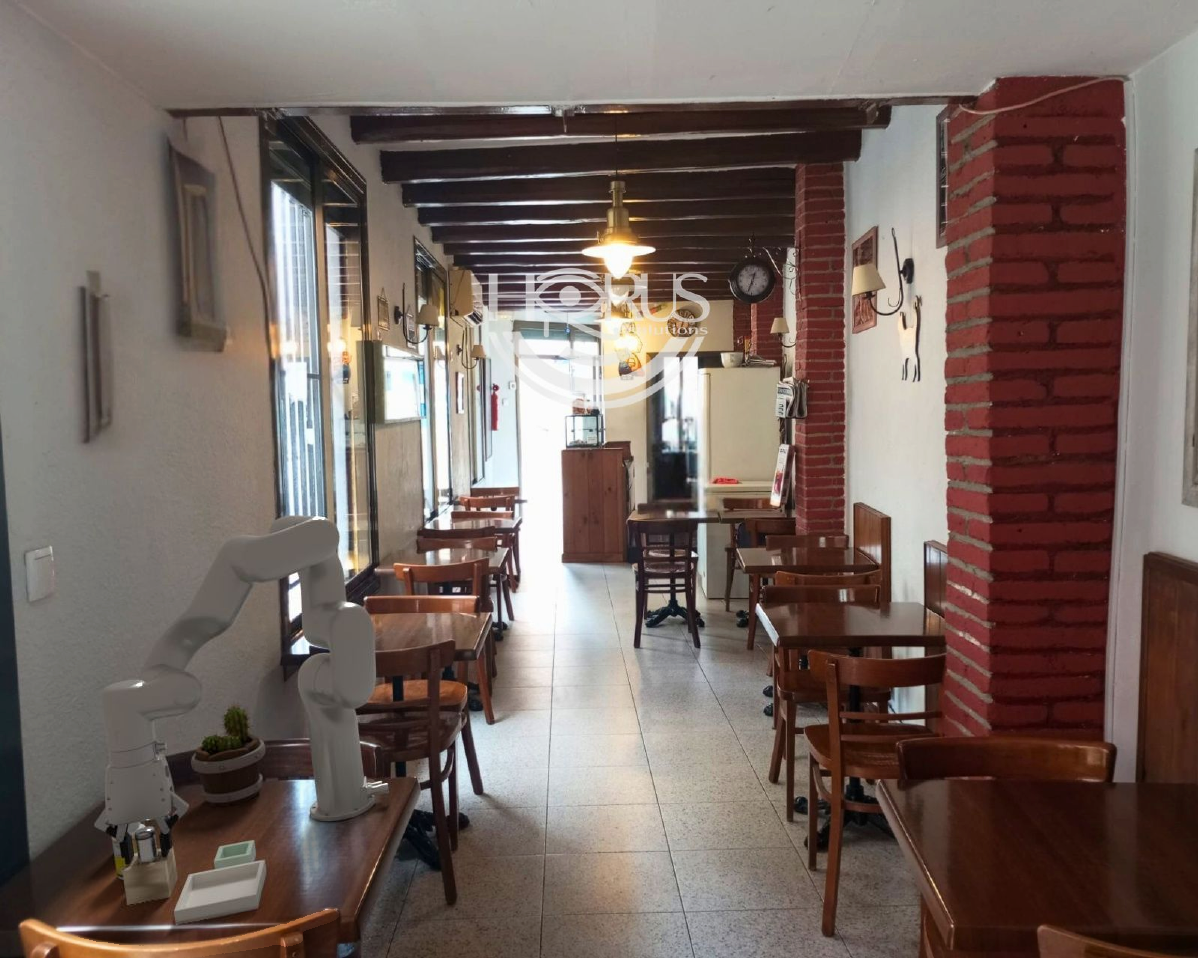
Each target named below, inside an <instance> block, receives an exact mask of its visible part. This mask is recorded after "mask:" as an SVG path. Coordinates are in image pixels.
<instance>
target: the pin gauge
mask: <svg viewBox="0 0 1198 958" xmlns="http://www.w3.org/2000/svg"><path fill="white" fill-rule="evenodd" d="M156 839H157V838H156V829H155V827H154V826H151V825H150V826H146V827H144V828H141V829H139V830H137V831H136V832H135V840H136V846H137V853H138V860H139V865H144V864H149V863H154V862H159V859H158V852H157V849H158V846H157V840H156Z"/></svg>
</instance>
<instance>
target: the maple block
mask: <svg viewBox="0 0 1198 958" xmlns="http://www.w3.org/2000/svg"><path fill="white" fill-rule="evenodd" d="M157 852H158V859H159V862H154V863H149V864H144V865H139V860H138V853H134V857H133V859H132V861H131V863H129V864H126V866H125V868H124V870H123V879H124V880H123V883H124V891H125V898H126V905H129V904H134V903H139V904H143V903H142V902H144V901H149V902H151V901H150V900H154V901H158V899H159V900H164V899H168V898H171V896H172V893H173V891H174V888H175V886H176V884H177V881H178V879H179V878H178V871H177V863H176V857H175V851H174V846H173V847H172V849H170V851H169V853H168V855H167V857H162V854H161V848H157ZM144 903H145V902H144ZM134 905H135V904H134ZM129 906H130V905H129Z"/></svg>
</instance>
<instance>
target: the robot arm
mask: <svg viewBox="0 0 1198 958" xmlns="http://www.w3.org/2000/svg"><path fill="white" fill-rule="evenodd" d="M340 538H341V537H340V532H339V529H338V527H337V525H336V524H335V523H334V522H333V521H331V520H330V519H329V518H327V517H323V516H318V515H285V516H282V517H279V518H277V519H276V520H274V521H273V522H272V523H271V525H270V527H269V529H268V534H264V535H248V534H247V535H245V534H243V535H235V536H233V537H231V538H229V539H228V540H226V541H225V542H224V543H223V544H222V546H221V547H220V549H219V551H218V553H216V556H215V558H214V560H213V562H212V563H211V565H210V567H209V569H208V571H207V573H206V575H205V576H204V578H203V580H202V582H201V583H200V585H199V588H198V590H196V592H195V595H194V596H193V598H192V600H191V602H190V603H189V605H188V606H187V608H186V609H185V610H183V612H182V613H181V614H179V616H178V617H177V618H176V619H175V620H174V621H173V623H172V624H170V626H169V627H168V628H167V629H166V630H165V631H164V632H163V633H162V634H161V635H160V637H159V638H158V639H157V640H156V642H155V643H154V645H153V646H152V648H151V650H150V652H149V654H148V655H147V658H146V659H145V661H144V663H143V665H142V667H141V668H140V670H139V673H138V675H137V678H136V679H129V680H128V679H127V680H122V681H118V682H114V683H111V684H110V685H107V686H106V687H105V688H103V689H102V690H101V693H100V697H99V699H100V706H101V707H100V708H101V713H102V714H101V715H102V720H103V728H104V729H103V730H104V736H105V741H106V742H105V743H106V749H107V757H108V763H109V764H108V765H107V766H106V768H105V778H104V779H105V780H104V799H105V803H104V804H105V807H104V808H103V811H102V812H101V813H100V815H99V816H98V818H97V819H96V821H95V822H94V827H95V828H96V829H98V830H101V831H102V832H105V833H106V834H107V835H109V836H110V837H111V838H112V837H113V838H115V839H116V841H117V842H119V844H120V851H121V857H122V858H125V864H129V863H131V861H132V859H133V857H134V849H133V841H132V835H130V834H129V833H128V828H129V824H131V823H136V822H142V821H144V822H146V821H152V820H155V822H156V823H157V825H158V827H159V829H160V833H159V836H158V838H159V845H160V846H159V847H160V849H161V854H162V857H167V855H168V853H169V851H170V849H172V847H173V848H174V844H173V836H172V828H173V827H174V826H175V825H176V823H177V822H178V821H179V820H180V818H182V817H183V816H184V815H185V813H186V812H187V811H188V810H189V808H190V804H189V803H187V802H186V801H185V800H184V799H183V798H181V797H180V796H179V795H178V794H176V792H175V787H174V782H173V778H172V775H171V770H170V767H169V764H168V761H167V759H166V755H165V754H164V753H161V752H164V751H167V749H168V743H167V742H166V741H164V742H161V741H159V738H157V731H156V724H155V720H159V719H163V718H170V717H177V716H182V715H185V714H187V713H190V712H191V711H193V710H194V709H195V708H196V707H198V706H199V704H200V703H201V701H202V700H203V697H204V692H205V691H204V686H203V683H202V681H201V680H200V678H198V676H197V675H195V674H193V673H191V672H189V671H186V670H187V668H188V666H189V664H190V663H191V661H192V659H193V657H194V656H195V655H196V654H197V653H198V652H199V650H201V649H202V648H203V647H204V645H206V644H207V643H208V642H209V641H212V640H213V639H214V638H217V637H219V636H221V635H223V634H224V633H226V632H227V631H229V630H230V629H232V628H233V627H234V626H235V624H237V623H236V622H237V621H238V620H239V619H238V618H239V617H240V615H241V613H242V612H243V608H244V607H245V605H246V604H247V600H248V599H249V597H250V596H251V594H252V592H253V590H254V588H255V586H256V584H257V583H258V584H267V583H271V582H276V581H279V580H281V579H284V578H286V577H289V576H291V575H294V574H297V576H298V578H299V586H300V601H301V602H300V603H301V627H302V635H303V638H304V639H305V640H306V641H307V643H309V644H310V645H312V646H314V647H318V648H320V649H321V648H322V649H326V650H329V652H322V653H321V652H320V653H316V654H313V655H311V656H310V657H308V658H306V659H305V661H303V663H302V664H301V667H300V668H299V670H298V674H297V687H298V692H299V696H300V699H301V702H302V705H303V709H304V712H305V719H306V724H307V731H308V739H309V740H308V741H309V747H310V755H311V764H312V772H313V778H314V789H315V794H316V795H315V796H316V800H315V801H314V802H313V803H312V804H311V806H310V808H309V813H310V817H311V818H312V819H315V820H317V821H321V822H337V821H343V820H348V819H350V818H354V817H357V816H360V815H361V814H363V813H365V812H367V811H368V810H369V809H371V808H372V807H373V805H375V802H376V801H375V796H376V795H384V794H389V792H390V791H389V784H388V783H383V781H382V780H380V781H375V782H371V781H369V782H368V779H367V776H365V775H364V767H363V760H362V759H363V758H362V749H361V741H360V734H359V724H358V723H359V722H358V718H357V713H356V712H357V711H356V709H358V708H360V707H362V706H364V705H366V703H367V702H368V701H369V700H370V699H371V697H372V696H373V694H374V691H375V687H376V681H377V680H376V679H377V667H376V665H377V664H376V663H377V662H376V639H375V627H374V626H375V625H374V623H373V620H372V617H371V615H370V614H369V612H368V611H367V609H366V608H364V607H363V606H361V604H357V603H355V602H350V601H348V600H347V593H346V584H345V574H344V568H343V565H342V562H341V559H340V557H339V555H338V554H337V552H336V551H337V550H338V547H339V545H340ZM172 807H175V808H176V810H175V811H174V812H173V813H172V814H171V812H172ZM170 814H171V815H170ZM117 825H118V826H117Z"/></svg>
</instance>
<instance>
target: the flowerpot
mask: <svg viewBox="0 0 1198 958" xmlns="http://www.w3.org/2000/svg"><path fill="white" fill-rule="evenodd" d="M243 708H244V709H243ZM243 708H242V706H241V704H238V703H236V704H235V702H233V703H230V706H229V708H228V709H226V710H224V712H226V713H225V714H223V715H220V717H221V719H222V720H223V725H222V724H221V725H220V726H222V727H221V728H223V730H224V731H223V732H222V734H223V735H218V734H217V732H216V733H215V734H206V735H205V734H204V735H203V736H202V737H204V738H203V739H201V740H202V743H201V744H202V745H200V746H198V747H197V748H196V750H195V753H194V754H193V755H192V757H191V760H190V764H191V768H192V770H193V771H194V772H197V773H198V776H199V778H200V782H201V784H202V786H203V788H202V790H201V791H202V796H203V799H205V801H207V802H209V804H210V805H211V806H213V805H215V806H214V807H218V806H219V807H221V806H222V807H227V806H228V805H230V804H231V803H232V805H239V804H241V803H242V802H246V800H247V801H249V800H251V799H252V797H253V798H255V797H256V796H257V795H258V794H259V792H260V789H261V788H262V784H263V775H262V774H261V767H262V758H263V757H264V756H265V754H266V745H265V742H264V740H261V739H260V737H259V736H256V735H254V734H252V733H251V732H250V728H251V726H253V725H252V724H251V723H250V724H249V722H250V720H251V717H250V714H249V711H248V708H247V709H246V708H245V707H243ZM209 732H210V733H211V731H209ZM206 736H207V737H206ZM257 793H258V794H257ZM254 796H255V797H254ZM248 799H249V800H248ZM238 803H239V804H238Z"/></svg>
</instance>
